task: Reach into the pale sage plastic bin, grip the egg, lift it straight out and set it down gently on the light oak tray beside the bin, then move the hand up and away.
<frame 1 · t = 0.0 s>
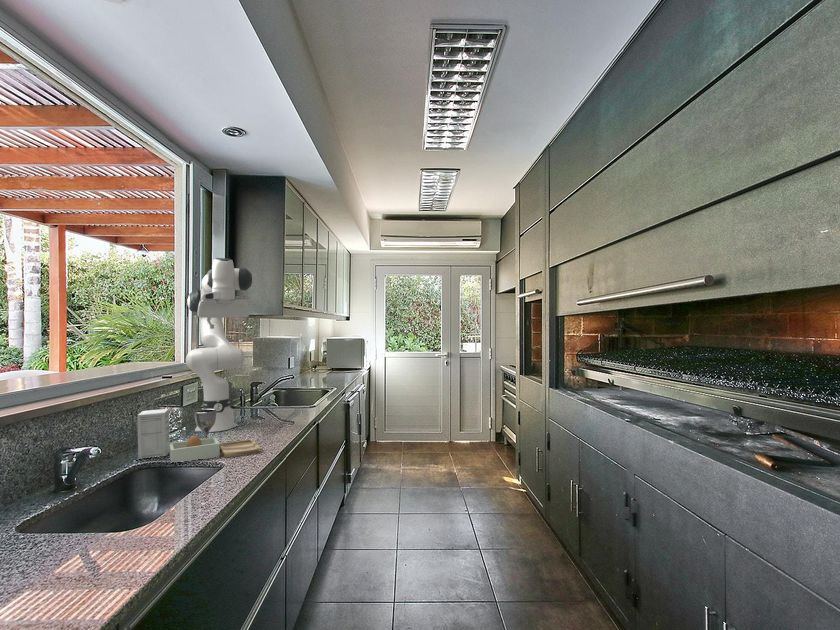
hand: (224, 328, 195), 48 cm above the counter, tool pointing down, fingers open, 8 cm apart
egg: (194, 457, 173), resting in bin
wine glass: (206, 448, 185), on the counter
tray: (239, 450, 181), on the counter
bin: (194, 456, 173), on the counter
supplement box: (154, 456, 176), on the counter
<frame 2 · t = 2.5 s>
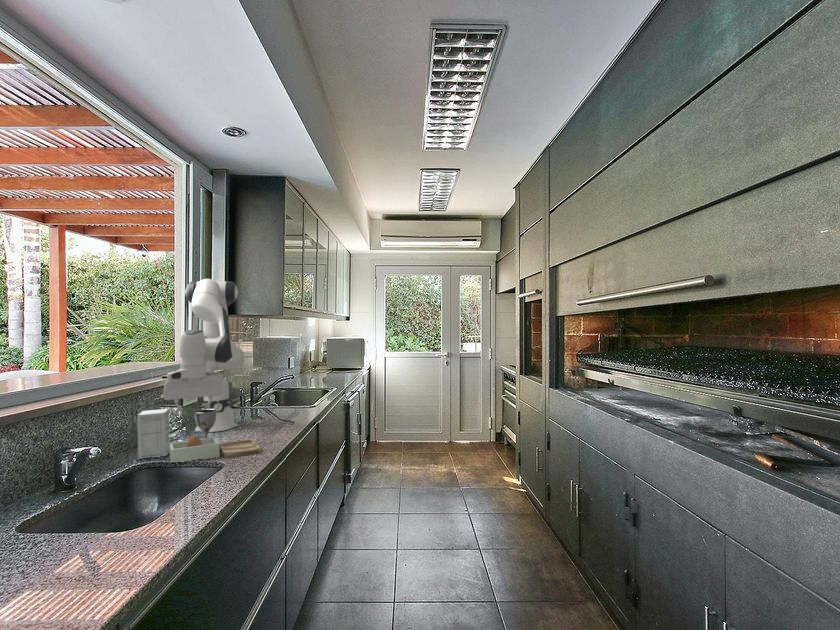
hand: (193, 409, 173), 18 cm above the counter, tool pointing down, fingers open, 8 cm apart
nothing on the counter moved.
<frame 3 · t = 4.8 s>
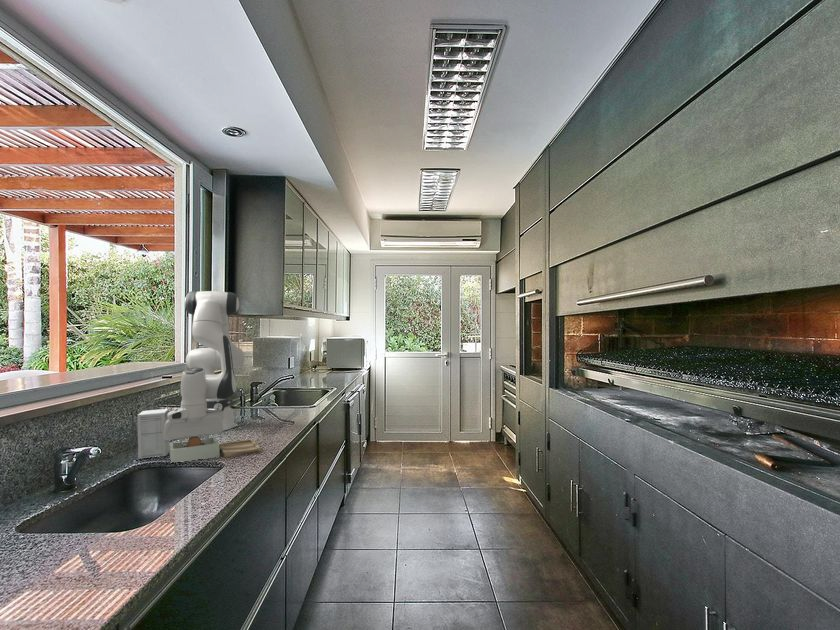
hand: (194, 448, 173), 3 cm above the counter, tool pointing down, fingers closed on egg, 5 cm apart
egg: (194, 457, 173), resting in bin, touching gripper
everything else where it was.
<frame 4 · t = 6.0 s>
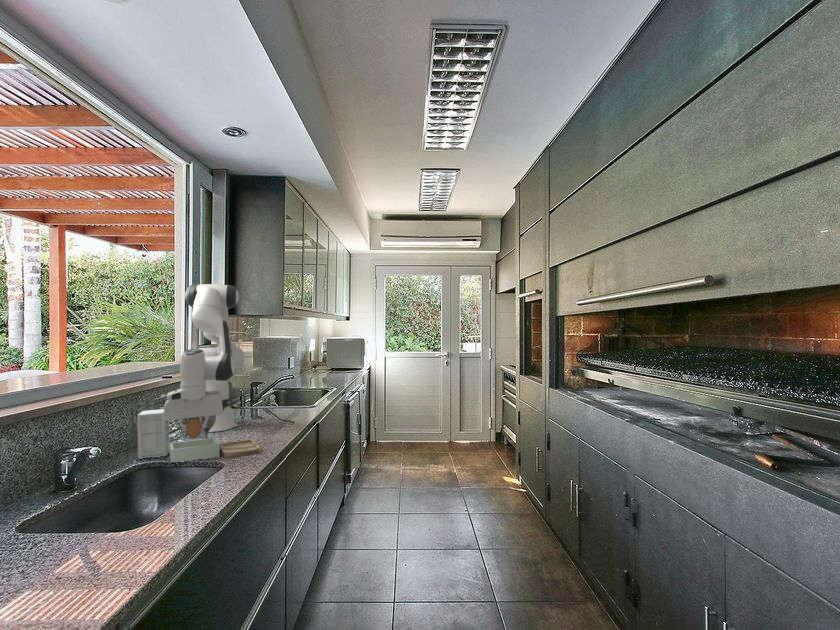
hand: (193, 429, 174), 10 cm above the counter, tool pointing down, fingers closed on egg, 5 cm apart
egg: (194, 438, 174), point 7 cm above the counter, touching gripper
everything else where it was.
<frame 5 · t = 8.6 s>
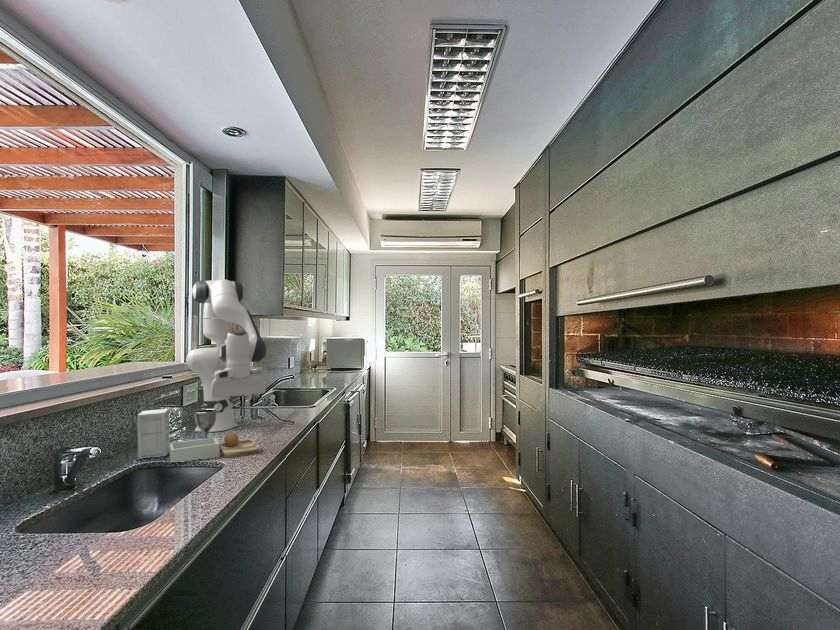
hand: (239, 407, 182), 17 cm above the counter, tool pointing down, fingers open, 5 cm apart
egg: (233, 441, 182), point 3 cm above the counter, touching tray
everything else where it was.
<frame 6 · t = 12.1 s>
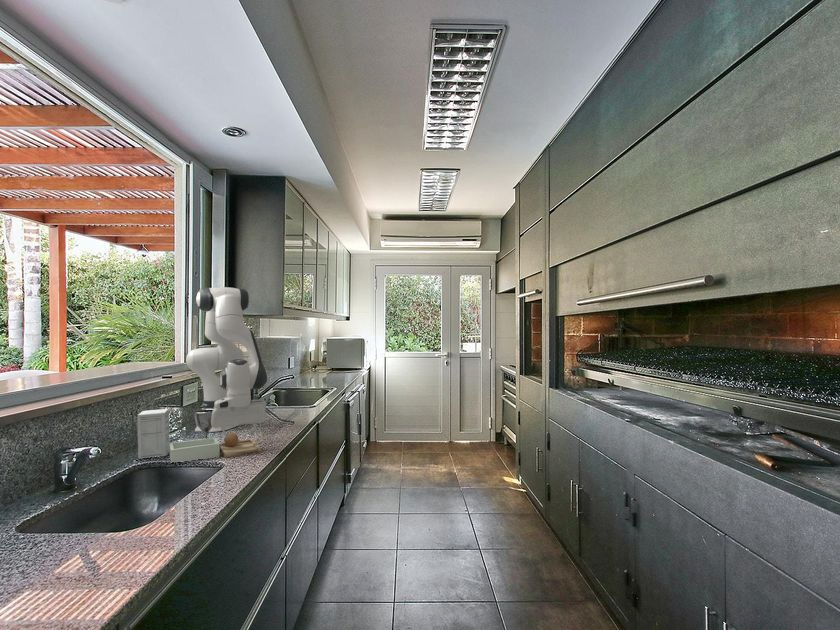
hand: (239, 436, 182), 5 cm above the counter, tool pointing down, fingers open, 8 cm apart
nothing on the counter moved.
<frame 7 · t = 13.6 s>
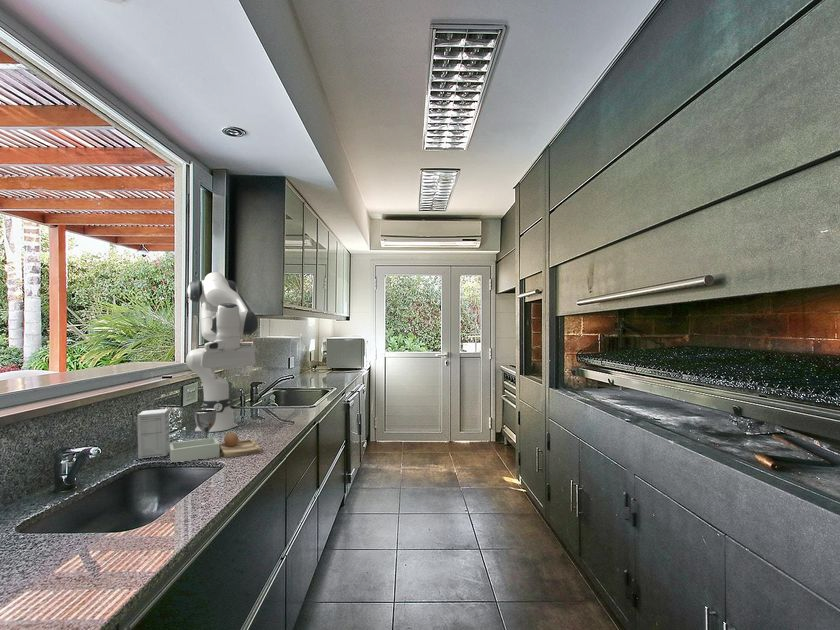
hand: (228, 378, 184), 28 cm above the counter, tool pointing down, fingers open, 8 cm apart
nothing on the counter moved.
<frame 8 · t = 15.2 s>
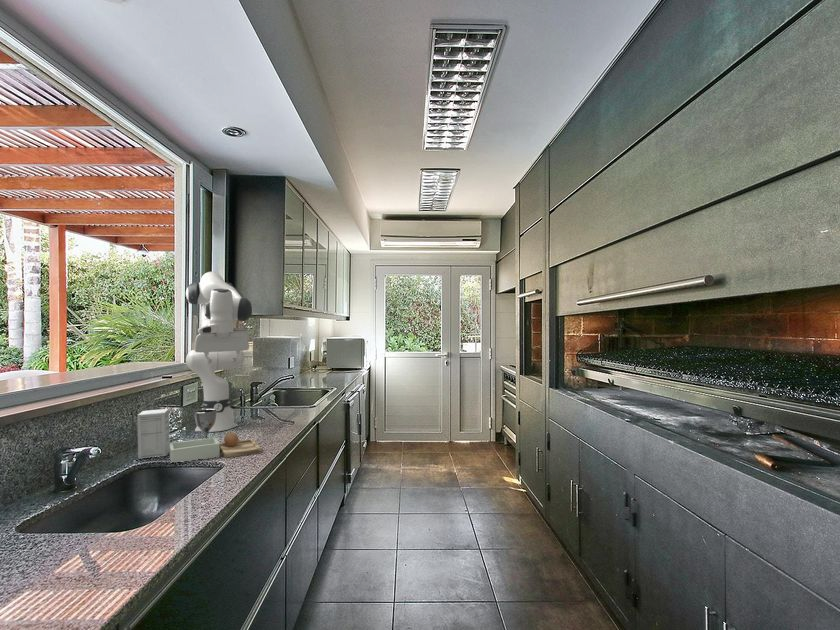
hand: (222, 362, 186), 34 cm above the counter, tool pointing down, fingers open, 8 cm apart
nothing on the counter moved.
at the end: egg inside the target area on the tray (2.3 cm from its centre), point 3.4 cm above the tray's base; the gripper is holding nothing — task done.
